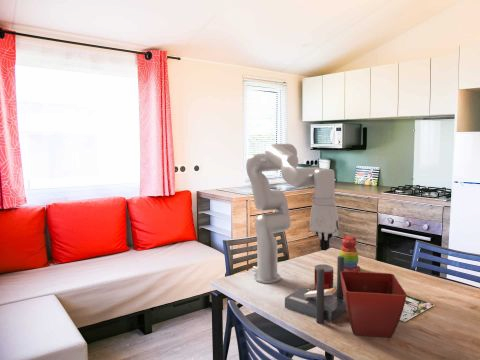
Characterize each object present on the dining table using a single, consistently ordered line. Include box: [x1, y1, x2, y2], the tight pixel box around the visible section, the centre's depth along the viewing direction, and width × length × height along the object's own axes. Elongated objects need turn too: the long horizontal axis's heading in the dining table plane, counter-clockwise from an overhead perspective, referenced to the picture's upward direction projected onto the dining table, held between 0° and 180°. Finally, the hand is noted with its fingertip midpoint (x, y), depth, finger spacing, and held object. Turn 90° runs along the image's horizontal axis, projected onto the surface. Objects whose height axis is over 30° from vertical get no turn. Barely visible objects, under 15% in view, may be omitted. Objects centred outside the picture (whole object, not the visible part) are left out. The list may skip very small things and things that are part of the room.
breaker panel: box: [284, 287, 347, 324], centre depth 145 cm, size 20×13×6 cm, turn 50°
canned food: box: [313, 263, 334, 291], centre depth 161 cm, size 8×8×11 cm
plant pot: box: [340, 271, 408, 338], centre depth 130 cm, size 19×19×17 cm
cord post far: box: [336, 255, 344, 299], centre depth 147 cm, size 3×3×20 cm
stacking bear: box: [338, 235, 361, 272], centre depth 186 cm, size 11×10×18 cm
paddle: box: [304, 287, 337, 297], centre depth 144 cm, size 12×4×1 cm, turn 50°
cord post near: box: [315, 268, 325, 325], centre depth 134 cm, size 3×3×20 cm
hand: (324, 249), depth 140 cm, fingers closed
